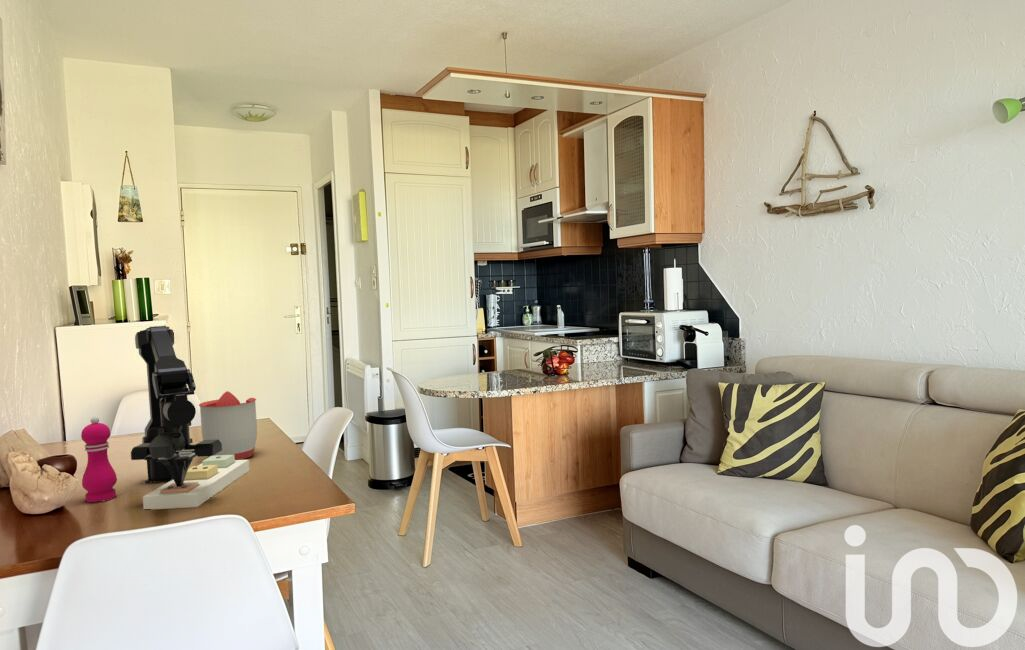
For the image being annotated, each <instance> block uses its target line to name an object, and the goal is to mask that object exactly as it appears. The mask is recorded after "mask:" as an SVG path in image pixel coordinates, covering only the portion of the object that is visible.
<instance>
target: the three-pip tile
mask: <svg viewBox="0 0 1025 650" xmlns="http://www.w3.org/2000/svg"><path fill="white" fill-rule="evenodd" d="M197 486H199V485H198V482H187V483H183V485H182V486H180V487H177V486H176V484H175V483H173V484H171V485H169V486H167V487H166V488H164V489H162V490H160V493H161V494H170V493H188V492H189V491H191V490H193V489H194V488H196V487H197Z"/></svg>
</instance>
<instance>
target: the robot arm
mask: <svg viewBox="0 0 1025 650" xmlns="http://www.w3.org/2000/svg"><path fill="white" fill-rule="evenodd" d="M174 336H175V335H174V329H171V328H170V326H166V325H161V326H159V325H158V326H149V327H146V329H143V330H140V331H138V332H137V331H136V333H135V336H134V341H135V342H134V344H135V348H136V349H137V350H138V354H139V356H140V357H141V359H142V360H143V361H144V362H145V364H146V373H147V374H146V375H147V388H148V389H147V390H148V391H147V392H148V402H149V417H150V419H149V420H148V422H147V424H146V426H145V428H144V436H142V441H141V444H137V445H136V446H133V448H131V451H130V461H131V460H132V461H142V460H144V461H146V469H147V479H145V481H144V483H161V482H162V483H168V482H170V481H171V480H174V482H175V484H176V486H177V487H180V486H182V485H183V482H184V479H185V476H186V474H187V471H188V469H189V468H190V467H191V463H192V462H193V459H194V458H195V457H200V458H201V457H209V456H213V455H215V454H217V453H218V452H220V451H222V444H221V442H220V441H219V440H218V439H216V440H203V439H202V441H199V442H197V443H195V444H193V438H192V437H190V427H191V426H192V421H193V420H194V418H195V416H196V414H197V413H196V411H197V410H196V407H195V405H194V404H193V402H192V401H190V400H188V399H189V398H188V396H190V395H195V391H196V387H197V386H196V382H195V380H194V379H195V378H194V376H193V375H194V374H193V373H191V369H189V368H187V365H186V363H185V361H184V360H183V359H180V358H178V357H177V354H176V351H175V349H174V345H175V337H174Z"/></svg>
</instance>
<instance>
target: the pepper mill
mask: <svg viewBox="0 0 1025 650" xmlns="http://www.w3.org/2000/svg"><path fill="white" fill-rule="evenodd" d="M80 436H81V437H80V438H81V440H82V441H83V443H85V444H84V448H85V449H84V451H85V452H86V453H87V462H86V463H87V464H86V467H85V470H84V473H83V475H82V479H81V485H82V488H83V489H84V490H85V491H86V492H85V494H84V495H85V502H86V501H87V503H89V502H97V501H103V500H107V501H109V500H108V499H111V498H113V499H115V498H116V497H115V496H117V495H116V491H117V490H116V488H114V486H115V485H116V483H117V481H118V477H117V473H116V472H115V469H114V467H113V466H112V464H111V463H110V460H109V456H108V449H109V448H110V445H109V443H110V442H108V440H109V439H110V437H111V430H110V428H109V426H108V425H107V424H105V423H102V422H100V419H99V417H97V416H93V417H92V418H91V419H90V424H88V425H86V426H85V427H84V428H83V429H82V431H81V435H80ZM114 497H115V498H114ZM111 500H112V499H111ZM103 502H104V501H103ZM97 503H98V502H97Z"/></svg>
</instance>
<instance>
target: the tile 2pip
mask: <svg viewBox="0 0 1025 650" xmlns="http://www.w3.org/2000/svg"><path fill="white" fill-rule="evenodd" d="M216 474H218V468H217V465H204V466H198V465H193V466H190V467H189V468H188V471H187V474H186V476H185V479H184V481H188V480H207V479H210V478H212V477H213V476H215V475H216Z"/></svg>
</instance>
